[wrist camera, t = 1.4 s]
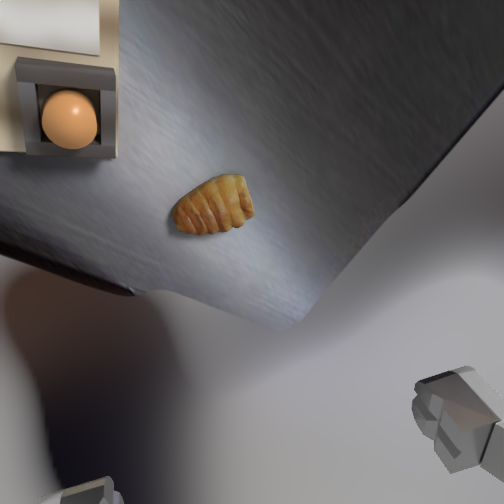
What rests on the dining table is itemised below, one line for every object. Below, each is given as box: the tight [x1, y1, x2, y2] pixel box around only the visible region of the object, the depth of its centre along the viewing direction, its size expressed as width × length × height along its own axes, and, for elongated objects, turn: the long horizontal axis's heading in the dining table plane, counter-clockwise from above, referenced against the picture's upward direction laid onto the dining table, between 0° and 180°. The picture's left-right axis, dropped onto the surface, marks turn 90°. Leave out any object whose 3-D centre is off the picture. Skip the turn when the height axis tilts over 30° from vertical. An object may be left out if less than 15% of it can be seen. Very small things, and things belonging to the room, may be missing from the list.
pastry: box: [172, 174, 254, 235], centre depth 46 cm, size 9×7×4 cm
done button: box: [42, 88, 97, 149], centre depth 33 cm, size 4×4×3 cm
